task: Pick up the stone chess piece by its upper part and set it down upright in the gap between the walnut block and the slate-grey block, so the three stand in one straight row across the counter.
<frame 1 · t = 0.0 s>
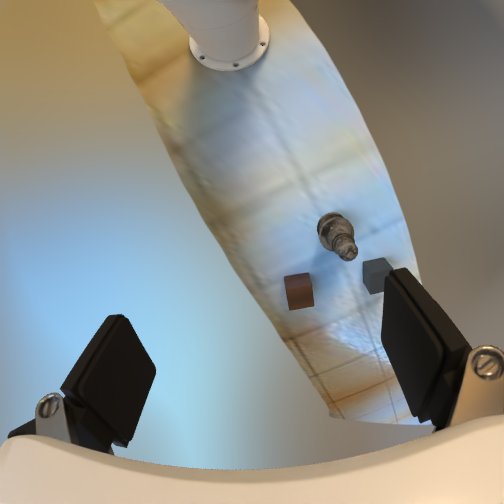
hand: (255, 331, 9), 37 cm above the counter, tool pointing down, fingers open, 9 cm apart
stone chess piece: (331, 227, 46), on the counter
walnut block: (297, 284, 51), on the counter
slate block: (373, 269, 49), on the counter
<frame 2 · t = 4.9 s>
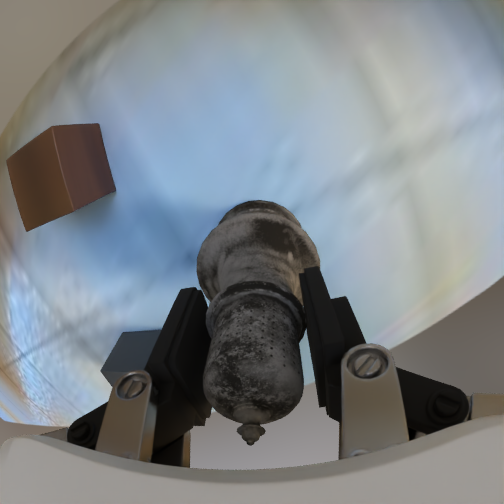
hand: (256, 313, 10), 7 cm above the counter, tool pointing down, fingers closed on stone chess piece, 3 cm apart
stone chess piece: (259, 243, 16), on the counter, touching gripper
walnut block: (80, 168, 14), on the counter
slate block: (156, 351, 20), on the counter
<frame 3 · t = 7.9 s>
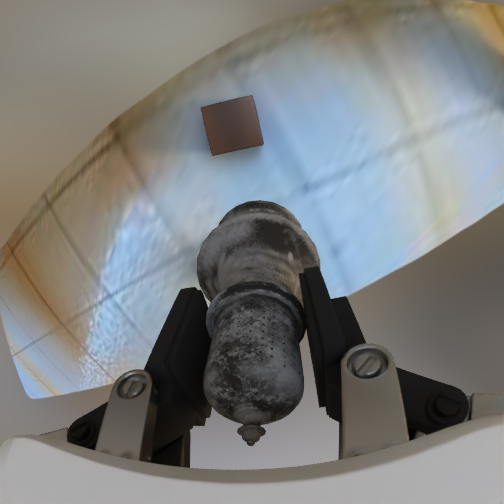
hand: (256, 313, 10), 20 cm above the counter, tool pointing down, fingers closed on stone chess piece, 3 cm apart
stone chess piece: (259, 243, 16), point 13 cm above the counter, touching gripper
walnut block: (236, 126, 25), on the counter
when the fingers open (7 cm above the counter, at t = 11.2 s): stone chess piece stays where it is, on the counter.
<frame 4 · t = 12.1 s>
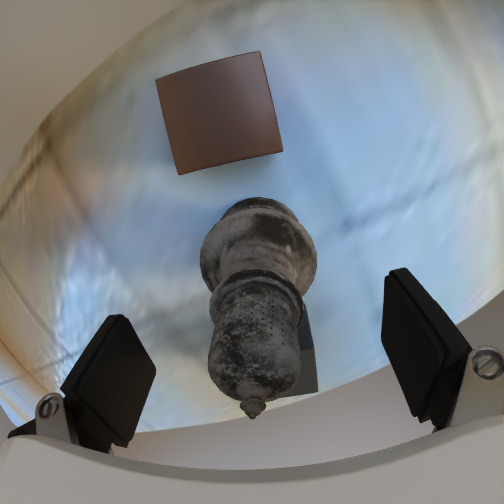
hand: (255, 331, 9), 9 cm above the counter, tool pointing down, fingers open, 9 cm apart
stone chess piece: (259, 238, 17), on the counter
walnut block: (229, 117, 14), on the counter
slate block: (278, 332, 20), on the counter
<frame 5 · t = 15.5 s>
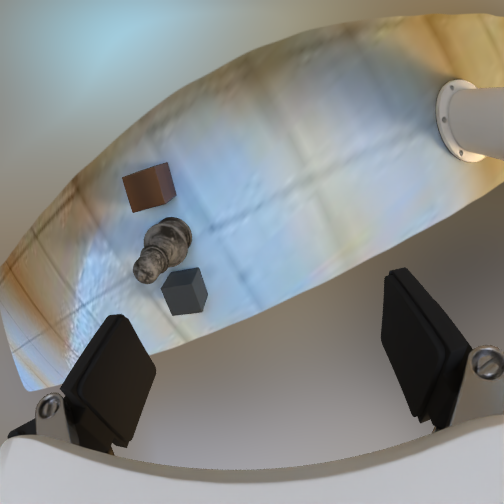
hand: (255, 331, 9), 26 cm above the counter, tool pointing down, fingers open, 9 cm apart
stone chess piece: (173, 235, 36), on the counter
walnut block: (156, 183, 33), on the counter
slate block: (189, 283, 39), on the counter
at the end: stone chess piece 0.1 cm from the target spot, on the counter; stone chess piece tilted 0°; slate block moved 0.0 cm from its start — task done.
